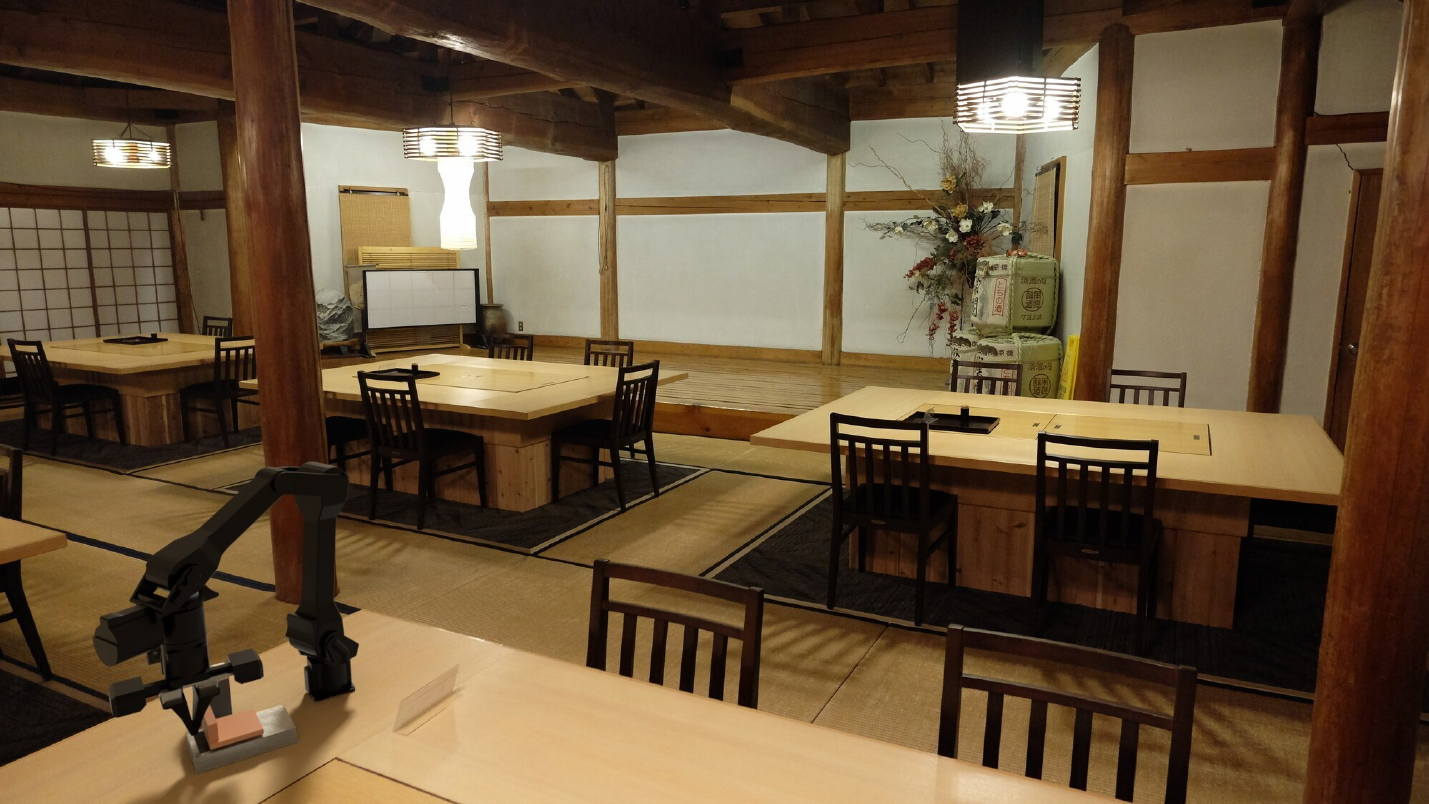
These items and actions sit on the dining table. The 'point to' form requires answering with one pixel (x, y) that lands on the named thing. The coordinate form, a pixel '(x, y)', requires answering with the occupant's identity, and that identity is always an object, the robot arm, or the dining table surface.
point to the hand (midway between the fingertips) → (193, 734)
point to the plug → (222, 699)
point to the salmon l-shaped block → (230, 727)
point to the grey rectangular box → (244, 741)
